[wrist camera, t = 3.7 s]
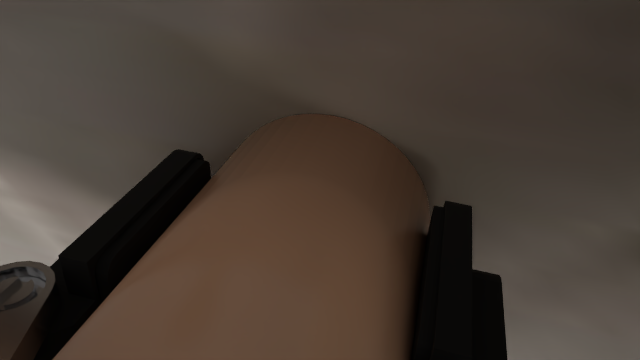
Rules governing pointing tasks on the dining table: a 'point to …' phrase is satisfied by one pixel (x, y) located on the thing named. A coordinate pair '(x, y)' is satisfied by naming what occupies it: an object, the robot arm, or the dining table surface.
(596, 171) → the dining table surface
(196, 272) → the tan rounded capsule
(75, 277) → the robot arm
